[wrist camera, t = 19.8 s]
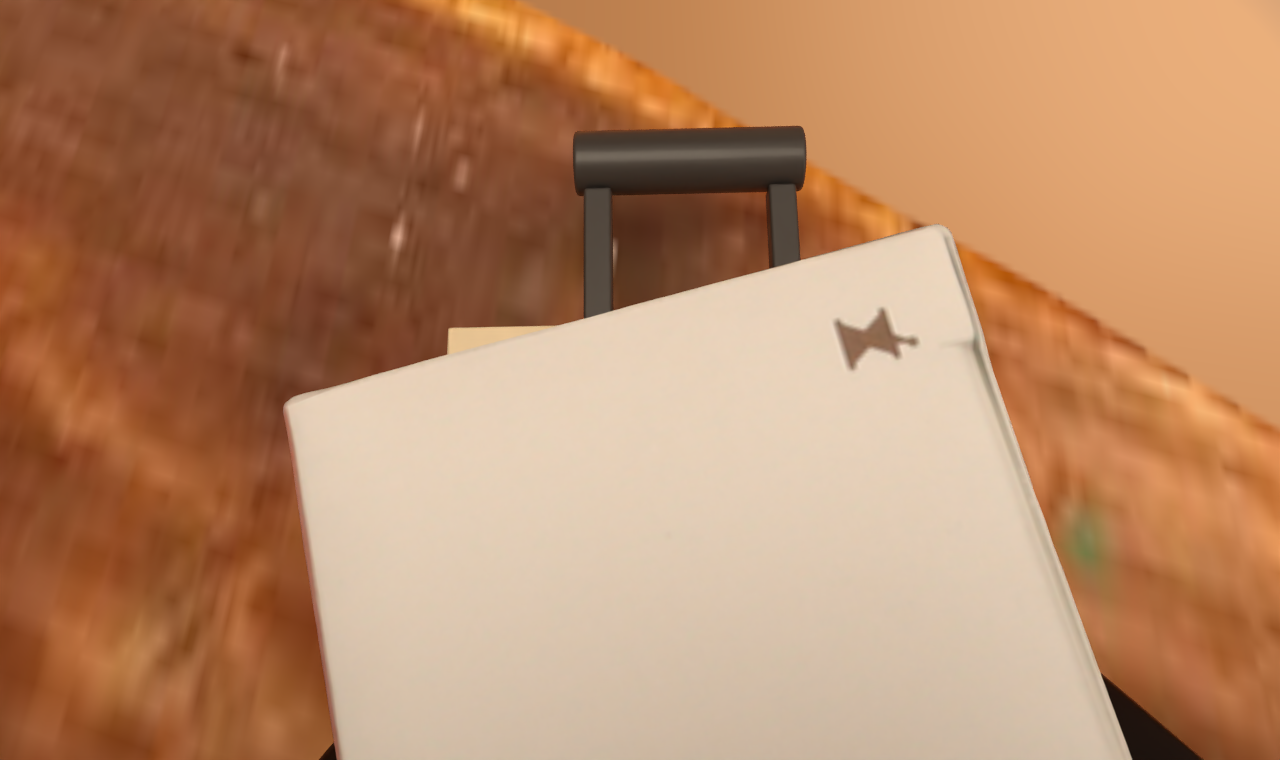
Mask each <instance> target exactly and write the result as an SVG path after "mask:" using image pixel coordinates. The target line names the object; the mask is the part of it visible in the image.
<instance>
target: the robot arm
mask: <svg viewBox="0 0 1280 760" xmlns="http://www.w3.org/2000/svg"><path fill="white" fill-rule="evenodd" d="M1101 676H1102V679H1103V681H1104V684H1105V687H1106V690H1107V692H1108V695H1109V698H1110V701H1111V703H1112V706H1113V709H1114V711H1115V714H1116V717H1117V720H1118V722H1119V725H1120V728H1121V730H1122V733H1123V736H1124V739H1125V741H1126V744H1127V747H1128V749H1129V752H1130V755H1131V758H1132V760H1204V759H1203V758H1202V757H1200V756H1199V755H1198V754H1197V753H1196V752H1194V751H1193V750H1192V749H1191V748H1190V747H1188V746H1187V745H1186V744H1185V743H1184V742H1183V741H1181V740H1180V739H1179V738H1178V737H1177V736H1175V735H1174V734H1173V733H1172V732H1171V731H1169V730H1168V729H1167V728H1166V727H1165V726H1163V725H1162V724H1161V723H1160V722H1159V721H1157V720H1156V719H1155V718H1154V717H1153V716H1152V715H1150V714H1149V713H1148V712H1147V711H1146V710H1144V709H1143V708H1142V707H1141V706H1140V705H1138V704H1137V703H1136V702H1135V701H1134V700H1132V699H1131V698H1130V697H1129V696H1128V695H1127V694H1125V693H1124V692H1123V691H1122V690H1121V689H1119V688H1118V687H1117V686H1116V685H1115V684H1113V683H1112V682H1111V681H1110V680H1109V679H1107V678H1106V677H1105V676H1104V675H1103V674H1101ZM319 760H337V758H336V751H335V745H334V743H333V744H332V745H331V746H330V747H329V749H328V750H327V751H326V752H325V753H324V754H323V756H322V757H321V758H320V759H319Z"/></svg>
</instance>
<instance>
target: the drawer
mask: <svg viewBox="0 0 1280 760" xmlns="http://www.w3.org/2000/svg"><path fill="white" fill-rule="evenodd" d="M573 169H574V182H575V189H576V193H577V195H579V196H584V319H585V318H589V317H593V316H596V315H600V314H604V313H607V312H611V311H613V206H612V195H649V194H694V193H738V192H767V194H766V209H767V229H768V248H769V267H770V268H774V267H778V266H781V265H785V264H789V263H792V262H796V261H800V245H799V228H798V212H797V195H796V191H799V190H801V189H802V187H803V184H804V180H805V172H806V140H805V133H804V130H803V128H802V127H800V126H778V127H777V126H775V127H733V128H691V129H649V130H607V131H577V132H575V134H574V139H573ZM551 327H555V326H517V327H468V328H449V330H448V348H447V355H448V354H452V353H456V352H460V351H463V350H467V349H471V348H475V347H478V346H482V345H486V344H490V343H494V342H498V341H501V340H505V339H509V338H513V337H517V336H520V335H524V334H528V333H532V332H536V331H540V330H543V329H547V328H551Z"/></svg>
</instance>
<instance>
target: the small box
mask: <svg viewBox="0 0 1280 760" xmlns="http://www.w3.org/2000/svg"><path fill="white" fill-rule="evenodd" d="M283 414H284V419H285V424H286V429H287V434H288V439H289V445H290V452H291V459H292V465H293V472H294V479H295V486H296V493H297V501H298V508H299V515H300V523H301V530H302V537H303V544H304V551H305V557H306V563H307V570H308V576H309V582H310V588H311V595H312V601H313V607H314V613H315V620H316V626H317V632H318V639H319V646H320V652H321V659H322V666H323V672H324V679H325V685H326V692H327V699H328V705H329V712H330V718H331V725H332V732H333V738H334V745H335V751H336V758H337V760H1132V758H1131V755H1130V752H1129V749H1128V747H1127V744H1126V741H1125V739H1124V736H1123V733H1122V730H1121V728H1120V725H1119V722H1118V720H1117V717H1116V714H1115V711H1114V709H1113V706H1112V703H1111V701H1110V698H1109V695H1108V692H1107V690H1106V687H1105V684H1104V681H1103V679H1102V676H1101V673H1100V671H1099V668H1098V665H1097V662H1096V660H1095V657H1094V654H1093V651H1092V649H1091V646H1090V643H1089V640H1088V638H1087V635H1086V632H1085V629H1084V627H1083V624H1082V621H1081V618H1080V616H1079V613H1078V610H1077V607H1076V605H1075V602H1074V599H1073V596H1072V593H1071V591H1070V588H1069V585H1068V582H1067V579H1066V577H1065V574H1064V571H1063V568H1062V566H1061V563H1060V561H1059V558H1058V556H1057V553H1056V551H1055V548H1054V546H1053V543H1052V540H1051V537H1050V534H1049V531H1048V528H1047V525H1046V521H1045V519H1044V516H1043V514H1042V511H1041V508H1040V506H1039V503H1038V501H1037V498H1036V496H1035V493H1034V490H1033V487H1032V483H1031V480H1030V477H1029V474H1028V471H1027V468H1026V465H1025V462H1024V459H1023V456H1022V453H1021V450H1020V447H1019V444H1018V442H1017V439H1016V436H1015V433H1014V430H1013V427H1012V424H1011V421H1010V418H1009V416H1008V413H1007V410H1006V407H1005V404H1004V402H1003V399H1002V396H1001V393H1000V390H999V387H998V384H997V381H996V378H995V376H994V373H993V369H992V365H991V362H990V358H989V355H988V351H987V347H986V343H985V339H984V335H983V331H982V327H981V324H980V321H979V318H978V315H977V312H976V309H975V306H974V303H973V300H972V296H971V293H970V290H969V287H968V284H967V281H966V278H965V274H964V271H963V268H962V264H961V261H960V258H959V255H958V251H957V248H956V245H955V242H954V239H953V236H952V233H951V231H950V230H949V229H948V228H946V227H944V226H942V225H940V224H934V225H930V226H925V227H921V228H917V229H913V230H909V231H906V232H902V233H898V234H895V235H891V236H888V237H884V238H881V239H877V240H873V241H870V242H866V243H862V244H859V245H855V246H851V247H848V248H844V249H840V250H837V251H833V252H829V253H826V254H822V255H818V256H815V257H811V258H807V259H803V260H800V261H796V262H792V263H789V264H785V265H781V266H778V267H774V268H770V269H767V270H763V271H759V272H756V273H752V274H748V275H744V276H741V277H737V278H733V279H729V280H726V281H722V282H718V283H715V284H711V285H707V286H703V287H700V288H696V289H692V290H689V291H685V292H681V293H677V294H674V295H670V296H666V297H662V298H658V299H655V300H651V301H647V302H643V303H639V304H635V305H632V306H628V307H625V308H621V309H618V310H614V311H611V312H607V313H604V314H600V315H596V316H593V317H589V318H585V319H581V320H578V321H574V322H570V323H566V324H563V325H559V326H555V327H551V328H547V329H543V330H540V331H536V332H532V333H528V334H524V335H520V336H517V337H513V338H509V339H505V340H501V341H498V342H494V343H490V344H486V345H482V346H478V347H475V348H471V349H467V350H463V351H460V352H456V353H452V354H448V355H445V356H441V357H437V358H433V359H430V360H426V361H423V362H419V363H416V364H412V365H409V366H405V367H401V368H398V369H394V370H391V371H387V372H383V373H380V374H376V375H373V376H369V377H366V378H362V379H359V380H355V381H352V382H348V383H345V384H342V385H338V386H335V387H331V388H326V389H322V390H317V391H313V392H308V393H304V394H301V395H298V396H295V397H292V398H291V399H290V400H289V401H287V402H286V403H285V405H284V408H283Z"/></svg>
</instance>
